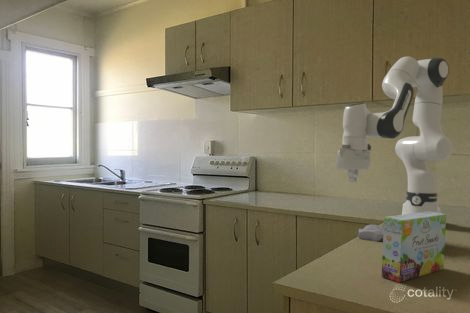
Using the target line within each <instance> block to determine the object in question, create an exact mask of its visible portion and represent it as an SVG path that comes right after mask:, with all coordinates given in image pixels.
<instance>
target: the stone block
mask: <svg viewBox="0 0 470 313" xmlns="http://www.w3.org/2000/svg"><path fill="white" fill-rule="evenodd" d="M383 234H384V225H378V224H367V225H365V226H364V227H363V228H359V229H358V235H357V237H358V238H359V239H360V240H363V241H364V240H366V241H371V242H383Z"/></svg>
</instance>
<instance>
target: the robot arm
mask: <svg viewBox="0 0 470 313" xmlns="http://www.w3.org/2000/svg"><path fill="white" fill-rule="evenodd" d="M449 71H450V69H449V64H448V62H447V61H446V60H445V59H444V58H442V57H432V58H426V59H419V60H417V59H416V58H414V57H412V56H403V57H400V58H399V59H398V60H396V62H395V63H394V64H393V65H392V66H391V67H390V69H389V71H388V72H387V73H386V75H385V76H384V78H383V80H382V84H381V88H382V91H383V93H384V94H385V95H386V96H387V97H389V98H390V99H392V100H394V101H393V105H392V106H391V108H390V109H389V110H386V111H384V112H375V113H374V112H372V111H370V110H369V109H368V108H367V104H366V103H364V102H358V103H350V104H347V105H346V106H345V108H344V110H343V115H342V116H343V117H342V128H343V135H342V138H341V139H342V141H341V146H340V147H339V150H338V151H337V154H336V155H337V156H336V169H337V170H343V171H344V170H345V171H347V175H348V181H349V182H352V183H355V182H357V181H358V177H359V173H360V171H362V170H364V171H365V170H369V168H370V165H371V152H370V151H372V145H371V144H370V143H369V142H368V139H396V138H397V137H398V136H400V135H401V133H402V132H403V129H404V126H405V119H406V116H407V114H408V111H409V108H410V107H411V103H412V101H413V97H414V92H415V91H414V88H417V90H416V94H415V98H414V105H413V112H412V123H413V124H414V126H416V127H417V128H418V129H419V133H420V134H419V135H417V136H407V137H406V136H405V137H403V138H401V139H398V140H397V142H396V144H395V147H394V150H395V151H394V152H395V154H396V156H397V157H398V158H399V159H400V160H401V161H402V163H403V165H404V167H405V170H406V175H407V191H406V194H405V199H406V201H405V202H404V203H403V204H402V212H401V215H404V214H412V213H420V212H436V213H442V210H441V208H440V206H439V204H438V197H439V196H438V193H436V187H437V186H436V185H437V182H436V181H437V180H436V174H435V173H434V172H433V171H431V170H430V169H429V168H428V165H427V162H439V161H444V160H447V159H449V158H450V157H451V155H452V153H453V143H452V141H451V140H450V139H449V138H448V137H447V136H446V135H445V134H444V132H443V129H442V124H441V120H442V118H441V117H442V108H443V100H444V98H443V94H444V93H443V84H444V83H445V81H446V80H447V78H448V75H449V73H450V72H449ZM447 223H448V222H447V221H446V224H447Z"/></svg>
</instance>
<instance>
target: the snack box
mask: <svg viewBox="0 0 470 313" xmlns="http://www.w3.org/2000/svg"><path fill="white" fill-rule="evenodd" d="M446 222H447V214H446V213H442V212H441V213H436V212H420V213H412V214H404V215H402V214H399V215H398V214H397V215H389V216H384V218H383V227H384V234H383V241H382V256H381V257H382V258H381V259H382V260H381V262H382V263H381V277H382V278H385V279H387V280H390V281H394V282H397V283H402V282H406V281H409V280H413V279H415V278H419V277H422V276H425V275H429V274H432V273H435V272H438V271H441V270H444V268H445V251H446V250H445V248H446V247H445V246H446V243H445V242H446V229H447V228H446V227H447V226H446V225H447V223H446Z"/></svg>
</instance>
